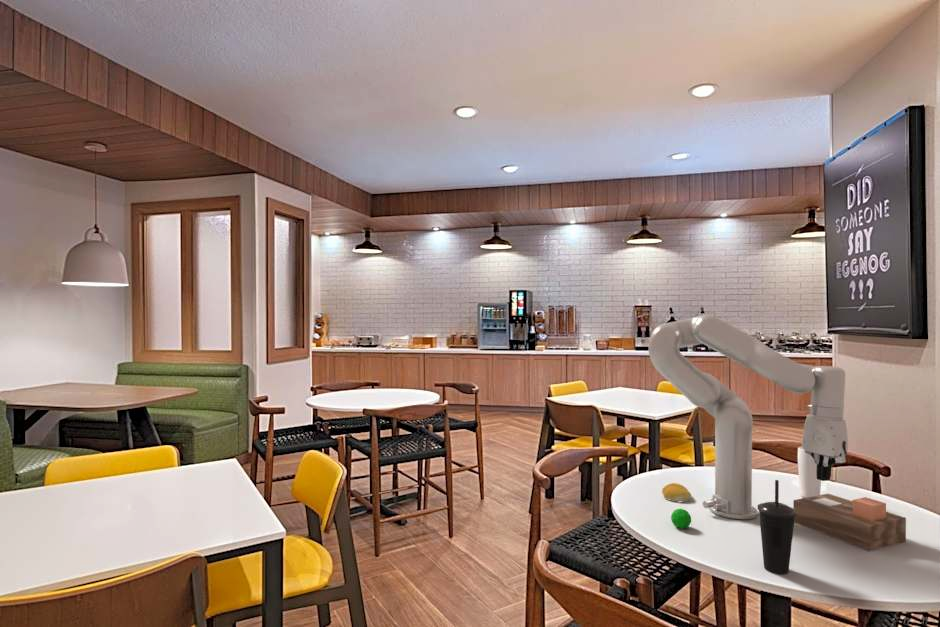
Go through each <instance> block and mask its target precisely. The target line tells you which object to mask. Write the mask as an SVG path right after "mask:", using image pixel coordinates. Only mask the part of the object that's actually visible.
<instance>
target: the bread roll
mask: <svg viewBox="0 0 940 627" xmlns="http://www.w3.org/2000/svg"><path fill="white" fill-rule="evenodd" d="M661 493H662V496H663V498H664V499H665V498H666V499H665V500H667V499H670V500H674V501H673V502H675V501H686V502H688V500H689V501H691V499H692V494H691V493H690V491H689V489H688V488H686V486H684V485H683V484H679V483H674V482H673V483H668V484H667V485H665V486H663V488H662V490H661ZM670 500H669V501H670Z"/></svg>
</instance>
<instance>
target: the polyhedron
mask: <svg viewBox="0 0 940 627" xmlns="http://www.w3.org/2000/svg"><path fill="white" fill-rule="evenodd" d="M670 520H671V523H672V524H673V526H675V527H676V528H678V527H679V528H678V529H680V528H683V529H686V528H687V529H688V528H689V527H690V525H691V522H692V517H691V514H690V513H689V512H688V511H687V510H686V509H684V508H676V509H674V510H673V511H672V513H671V516H670Z"/></svg>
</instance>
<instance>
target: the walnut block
mask: <svg viewBox="0 0 940 627" xmlns="http://www.w3.org/2000/svg"><path fill="white" fill-rule="evenodd" d="M820 498H827V499H830V500H833V501H836V502H839V503H842V505H837V506H832V507H829V506H826V505H823V504H820V503H817V502H814V501H812V500H815V499H820ZM792 508H793V509H795V510H796V515H795V519H794V524H795V523H796V525H797V524H798V525H800V526H803V527H805V528H808V529H811V530H813V531H816V532H819V533H821V534H823V535H826V536H828V537H831V538H834V539H837V540H839V541H842V542H845V543H847V544H849V545H853V546H855V547H858V548H860V549H863V550H865V551H868V552H871V551H876V550H880V549H883V548H886V547H891V546H895V545H899V544H902V543H906V541H907V537H906V536H907V518H906V517H904V516H901V515H898V514H895V513H891V512H888V511H886V519H883V520H878V521H871V520H868V519H865V518H862V517H859V516H856V515H853V500H850V499H846V498H844V497H841V496H837V495H834V494H832V493H824V494H820V495H818V496H813V497H807V498H803V497H802V498H798V499H793V506H792Z"/></svg>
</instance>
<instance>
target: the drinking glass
mask: <svg viewBox="0 0 940 627" xmlns="http://www.w3.org/2000/svg"><path fill="white" fill-rule="evenodd" d="M797 468H798V480H799V483H798V484H799V496H801V497H802V498H807V497H813V496H818V495H821V489H822V488H821V487H822V485H821V484H822V481H821V480H818V479H817V474H816V471H817V464H815V461H814V459H813V457H812V456H811V455H809V454H807V453H805V449H803V447H802V446H798V447H797Z"/></svg>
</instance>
